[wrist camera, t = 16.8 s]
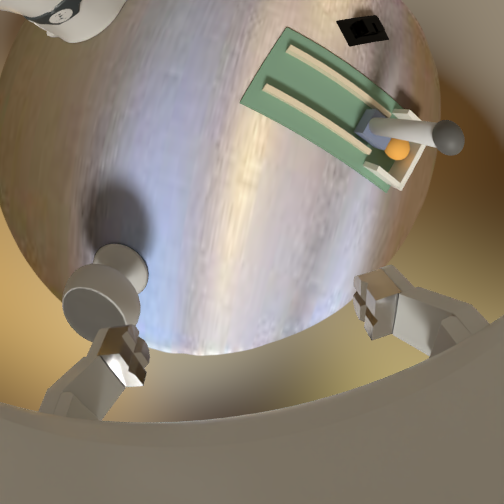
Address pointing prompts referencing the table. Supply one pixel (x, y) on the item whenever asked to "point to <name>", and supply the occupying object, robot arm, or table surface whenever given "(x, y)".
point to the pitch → (319, 101)
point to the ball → (397, 149)
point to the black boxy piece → (362, 30)
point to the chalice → (105, 291)
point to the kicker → (409, 132)
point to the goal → (399, 168)
